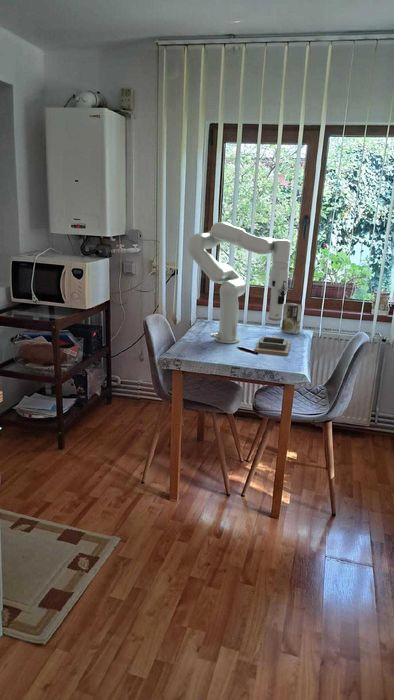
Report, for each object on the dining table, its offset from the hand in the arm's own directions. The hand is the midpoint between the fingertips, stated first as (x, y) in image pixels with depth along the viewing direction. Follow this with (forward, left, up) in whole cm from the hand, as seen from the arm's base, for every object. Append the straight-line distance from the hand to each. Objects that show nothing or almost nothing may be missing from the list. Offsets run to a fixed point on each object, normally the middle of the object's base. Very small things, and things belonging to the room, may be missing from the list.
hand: (276, 302), depth 238 cm
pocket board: (0, 0, -23) cm, 23 cm away
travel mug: (0, 0, -9) cm, 9 cm away
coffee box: (+29, +27, -24) cm, 46 cm away
